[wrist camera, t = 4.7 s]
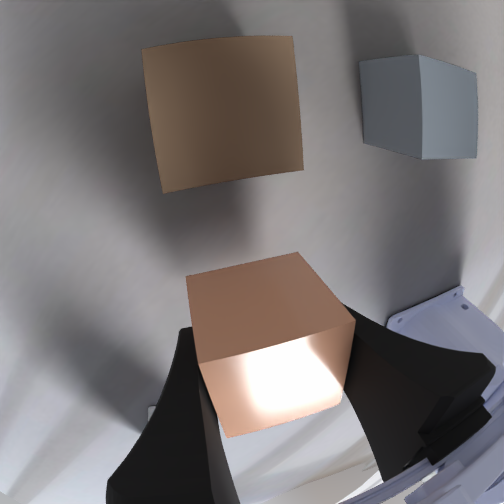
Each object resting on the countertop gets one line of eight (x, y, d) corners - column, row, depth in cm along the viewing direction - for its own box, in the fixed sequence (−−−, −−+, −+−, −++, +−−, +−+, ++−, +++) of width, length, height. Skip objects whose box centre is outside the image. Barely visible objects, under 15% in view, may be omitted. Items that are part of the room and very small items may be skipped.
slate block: (417, 71, 13) (476, 73, 9) (419, 141, 15) (476, 158, 11) (357, 61, 12) (418, 54, 8) (362, 142, 14) (421, 159, 10)
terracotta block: (297, 251, 12) (356, 320, 8) (299, 333, 14) (339, 404, 10) (185, 276, 11) (198, 363, 7) (207, 356, 13) (227, 438, 9)
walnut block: (254, 58, 11) (292, 36, 7) (263, 151, 13) (303, 170, 9) (152, 71, 10) (141, 49, 6) (166, 168, 12) (162, 194, 9)
